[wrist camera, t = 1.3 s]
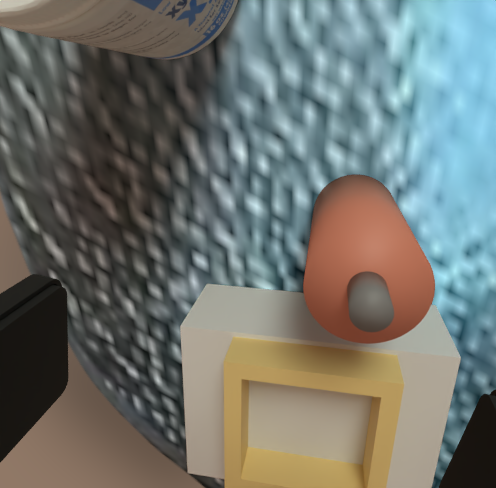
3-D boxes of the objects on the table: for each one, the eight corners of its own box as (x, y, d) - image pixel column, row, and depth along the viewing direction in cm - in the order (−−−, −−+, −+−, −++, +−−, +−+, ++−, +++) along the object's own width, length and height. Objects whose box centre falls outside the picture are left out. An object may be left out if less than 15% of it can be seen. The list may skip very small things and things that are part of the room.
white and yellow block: (435, 305, 28) (475, 387, 21) (409, 441, 33) (434, 553, 25) (207, 283, 31) (165, 349, 23) (210, 412, 35) (175, 505, 28)
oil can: (400, 176, 26) (460, 252, 14) (390, 254, 28) (434, 380, 16) (316, 172, 27) (304, 241, 15) (310, 248, 29) (296, 364, 17)
